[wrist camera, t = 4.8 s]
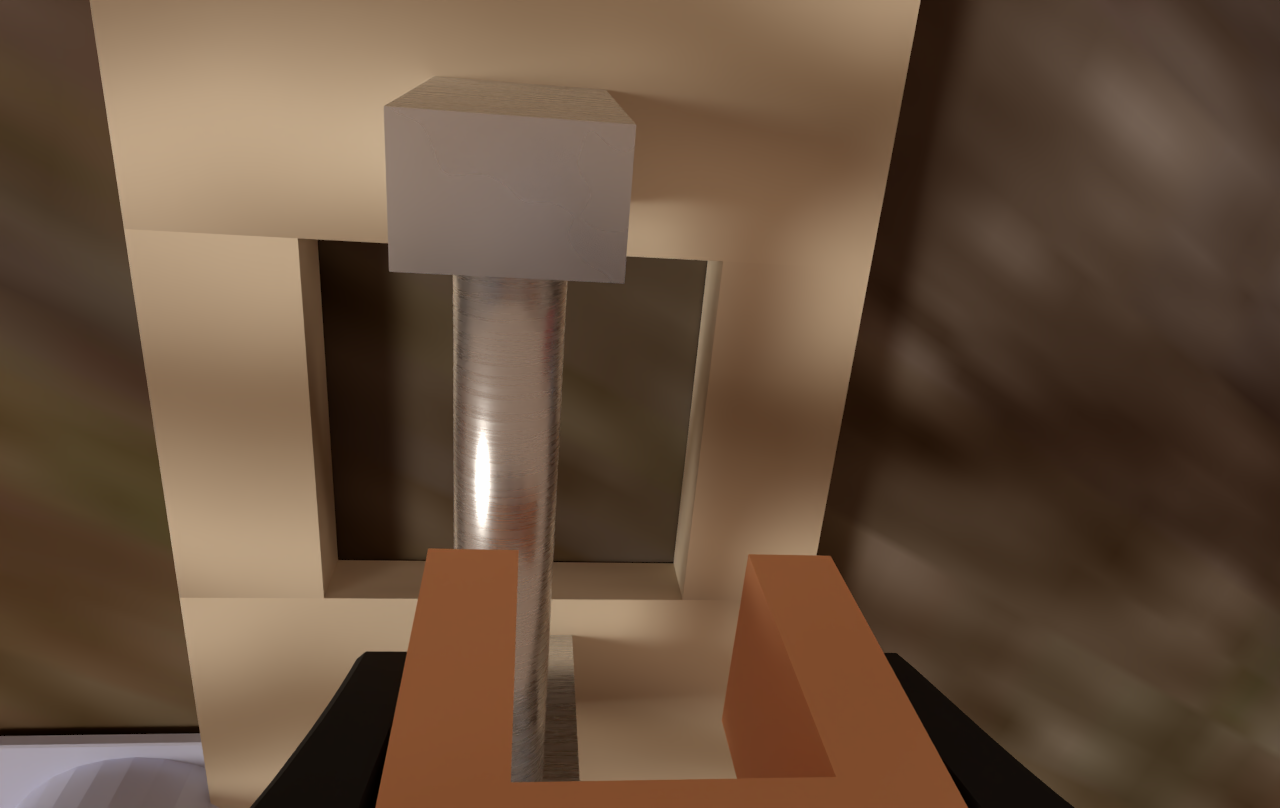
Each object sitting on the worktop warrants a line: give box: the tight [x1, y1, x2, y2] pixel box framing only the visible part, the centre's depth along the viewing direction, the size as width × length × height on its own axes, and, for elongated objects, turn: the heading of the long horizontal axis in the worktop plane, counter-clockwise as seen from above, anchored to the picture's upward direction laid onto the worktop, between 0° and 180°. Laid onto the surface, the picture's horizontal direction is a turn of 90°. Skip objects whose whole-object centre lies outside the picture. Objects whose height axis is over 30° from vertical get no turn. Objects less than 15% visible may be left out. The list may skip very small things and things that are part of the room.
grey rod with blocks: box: [384, 76, 636, 782], centre depth 16 cm, size 14×3×6 cm, turn 175°
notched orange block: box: [375, 548, 968, 808], centre depth 10 cm, size 3×6×5 cm, turn 84°
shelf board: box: [90, 0, 921, 808], centre depth 19 cm, size 24×14×2 cm, turn 175°
